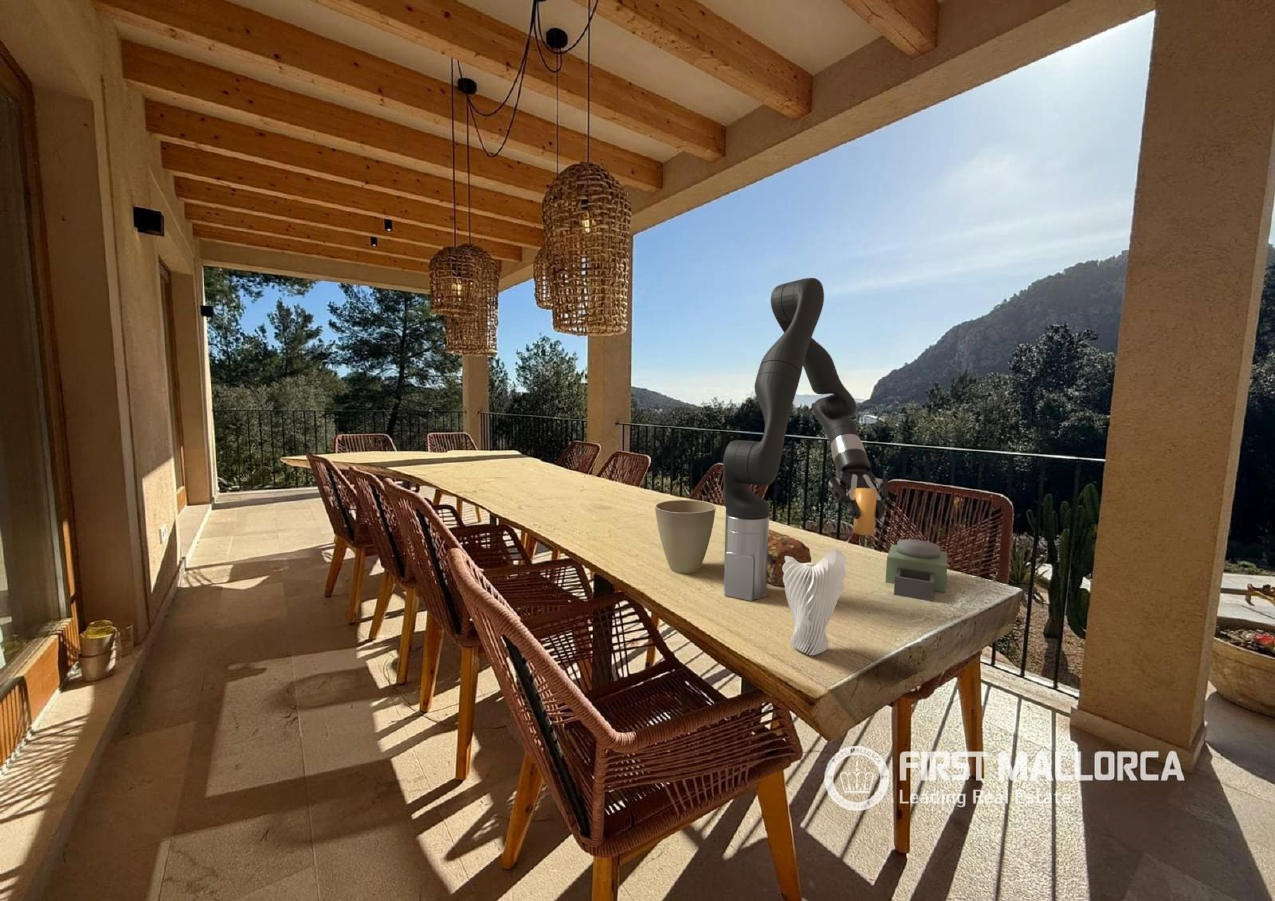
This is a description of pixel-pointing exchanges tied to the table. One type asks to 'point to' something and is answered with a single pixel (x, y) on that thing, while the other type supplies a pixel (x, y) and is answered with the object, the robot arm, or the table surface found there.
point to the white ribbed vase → (813, 598)
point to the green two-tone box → (916, 569)
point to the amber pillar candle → (865, 511)
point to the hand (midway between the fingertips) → (868, 517)
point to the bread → (783, 555)
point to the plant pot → (685, 532)
